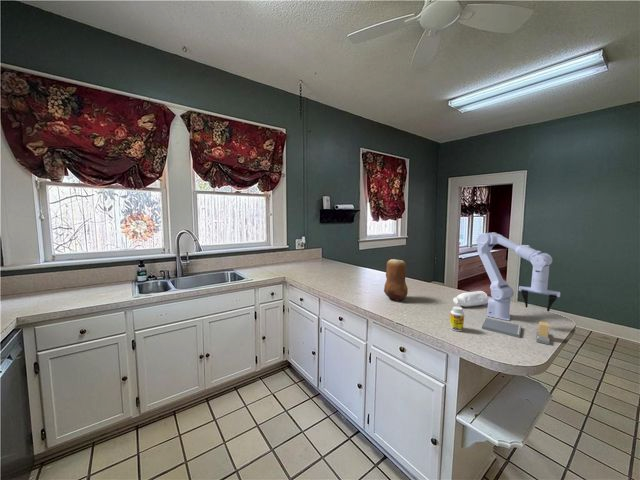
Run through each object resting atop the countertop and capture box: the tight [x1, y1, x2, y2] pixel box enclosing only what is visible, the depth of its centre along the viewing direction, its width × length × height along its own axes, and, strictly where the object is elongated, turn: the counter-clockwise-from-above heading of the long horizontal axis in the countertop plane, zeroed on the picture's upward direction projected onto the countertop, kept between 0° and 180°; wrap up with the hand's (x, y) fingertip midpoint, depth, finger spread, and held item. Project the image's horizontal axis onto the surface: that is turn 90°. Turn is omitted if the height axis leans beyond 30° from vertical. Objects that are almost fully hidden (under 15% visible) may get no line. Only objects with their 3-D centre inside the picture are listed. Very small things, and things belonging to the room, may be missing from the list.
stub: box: [536, 321, 550, 345], centre depth 113 cm, size 4×12×6 cm, turn 140°
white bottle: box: [452, 290, 489, 308], centre depth 151 cm, size 8×19×8 cm, turn 105°
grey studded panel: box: [481, 317, 522, 339], centre depth 122 cm, size 14×12×1 cm
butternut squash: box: [383, 258, 409, 301], centre depth 161 cm, size 14×13×25 cm
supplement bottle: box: [449, 305, 465, 332], centre depth 121 cm, size 6×6×10 cm
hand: (537, 308), depth 121 cm, fingers open, 7 cm apart
